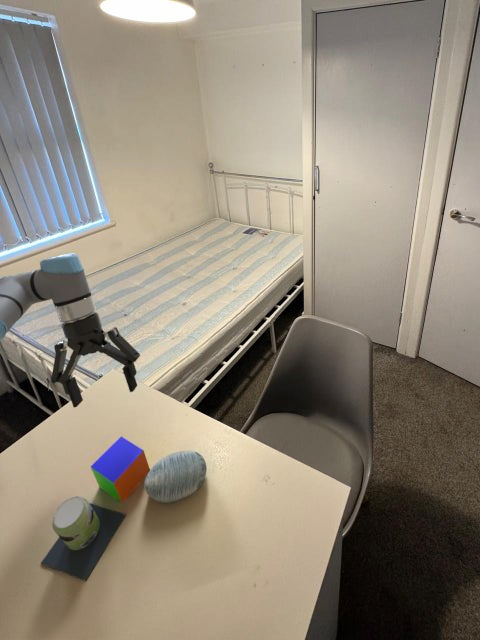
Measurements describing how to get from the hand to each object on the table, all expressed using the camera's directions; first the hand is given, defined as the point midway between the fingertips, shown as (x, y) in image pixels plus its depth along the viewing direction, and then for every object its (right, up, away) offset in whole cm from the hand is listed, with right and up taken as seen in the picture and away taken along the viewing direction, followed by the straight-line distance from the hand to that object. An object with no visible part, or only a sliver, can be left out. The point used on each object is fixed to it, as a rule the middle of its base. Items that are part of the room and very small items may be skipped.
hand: (106, 396), depth 80 cm
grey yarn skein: (+19, -21, -2) cm, 28 cm away
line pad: (+2, -25, -11) cm, 27 cm away
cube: (+5, -20, -1) cm, 21 cm away
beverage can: (+2, -25, -11) cm, 27 cm away
